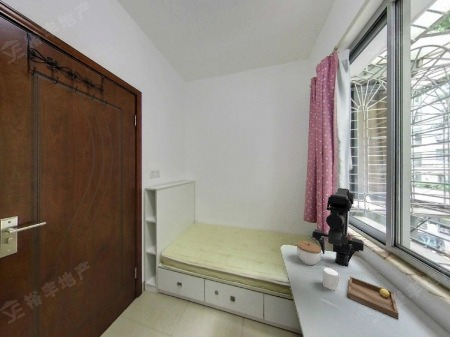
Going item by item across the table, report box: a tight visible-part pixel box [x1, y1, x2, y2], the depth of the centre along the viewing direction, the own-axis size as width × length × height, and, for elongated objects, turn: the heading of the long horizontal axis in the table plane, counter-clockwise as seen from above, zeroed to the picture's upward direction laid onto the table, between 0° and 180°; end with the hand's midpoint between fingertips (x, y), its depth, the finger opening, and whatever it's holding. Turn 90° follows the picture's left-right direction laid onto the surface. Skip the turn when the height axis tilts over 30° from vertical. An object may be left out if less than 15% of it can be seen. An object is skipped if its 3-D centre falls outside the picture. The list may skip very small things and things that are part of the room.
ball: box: [380, 288, 389, 297], centre depth 71 cm, size 3×3×3 cm
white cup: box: [321, 266, 341, 291], centre depth 76 cm, size 7×7×7 cm
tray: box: [347, 276, 400, 320], centre depth 70 cm, size 15×15×2 cm
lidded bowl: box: [296, 240, 322, 266], centre depth 96 cm, size 13×13×11 cm
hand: (335, 257), depth 75 cm, fingers open, 9 cm apart
